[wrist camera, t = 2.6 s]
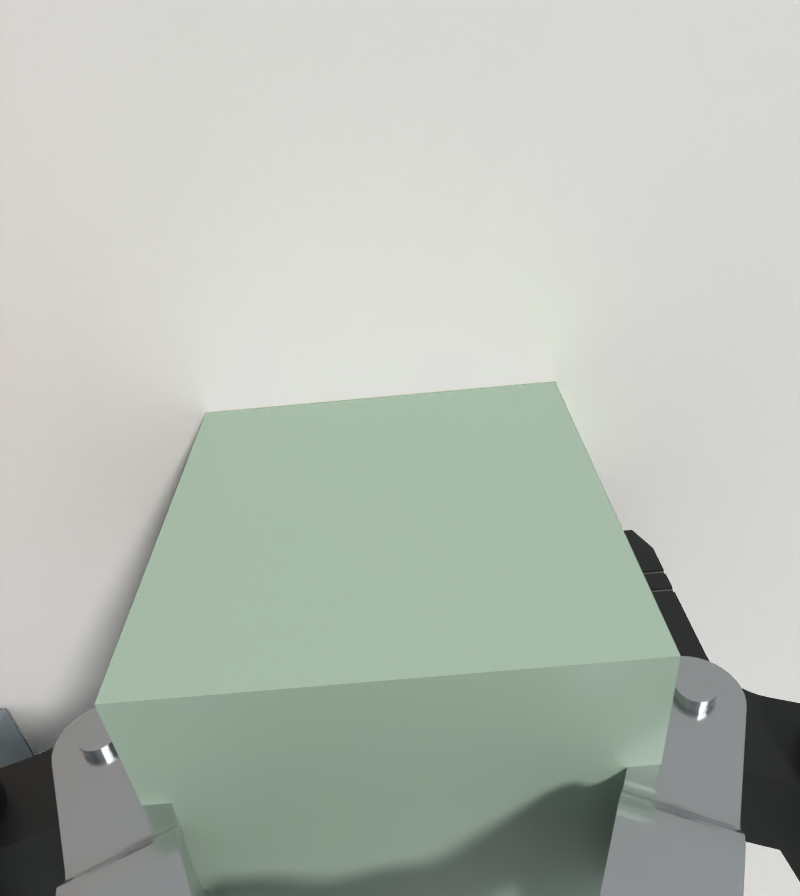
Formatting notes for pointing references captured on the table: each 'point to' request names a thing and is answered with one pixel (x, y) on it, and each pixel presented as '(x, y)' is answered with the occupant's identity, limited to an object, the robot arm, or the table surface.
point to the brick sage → (392, 652)
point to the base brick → (11, 741)
